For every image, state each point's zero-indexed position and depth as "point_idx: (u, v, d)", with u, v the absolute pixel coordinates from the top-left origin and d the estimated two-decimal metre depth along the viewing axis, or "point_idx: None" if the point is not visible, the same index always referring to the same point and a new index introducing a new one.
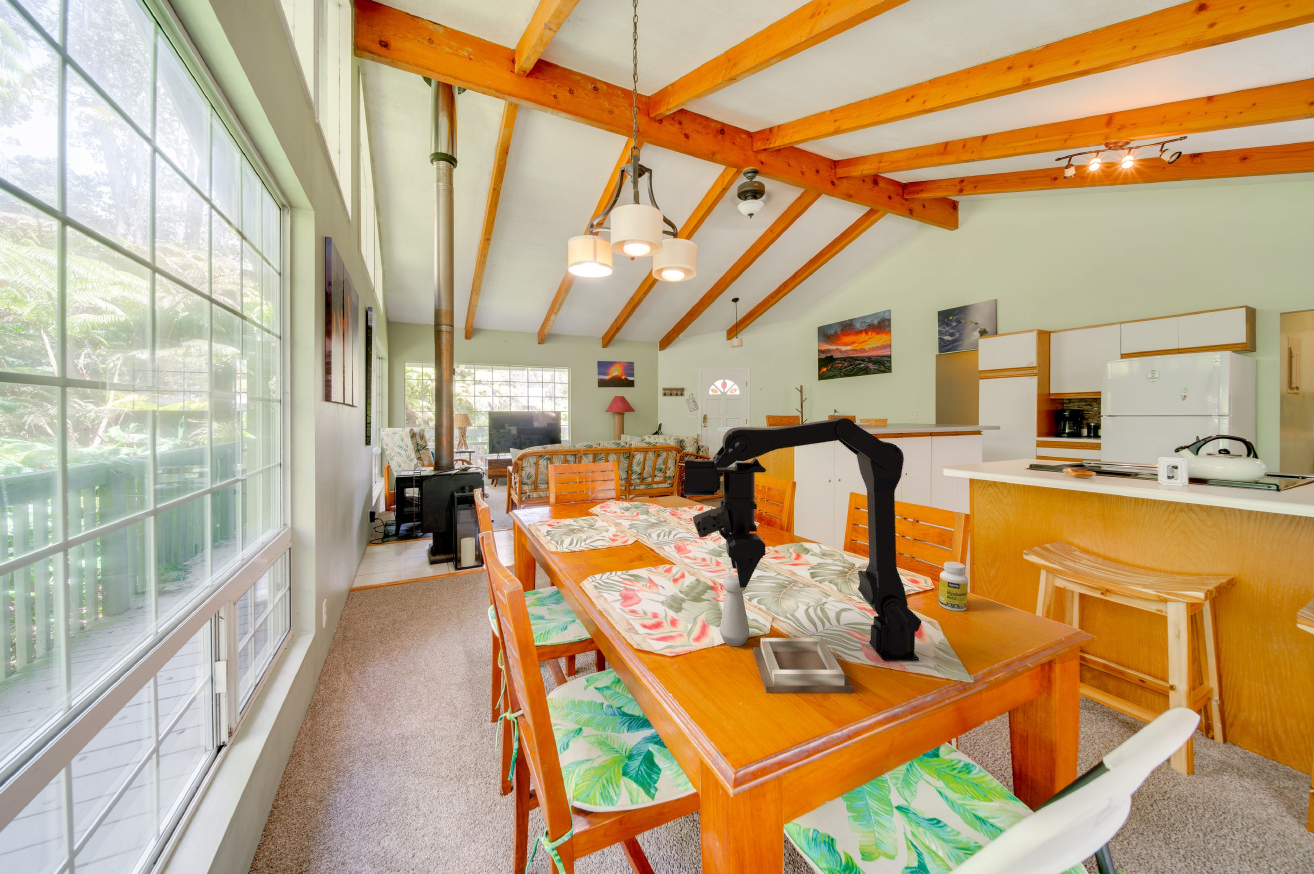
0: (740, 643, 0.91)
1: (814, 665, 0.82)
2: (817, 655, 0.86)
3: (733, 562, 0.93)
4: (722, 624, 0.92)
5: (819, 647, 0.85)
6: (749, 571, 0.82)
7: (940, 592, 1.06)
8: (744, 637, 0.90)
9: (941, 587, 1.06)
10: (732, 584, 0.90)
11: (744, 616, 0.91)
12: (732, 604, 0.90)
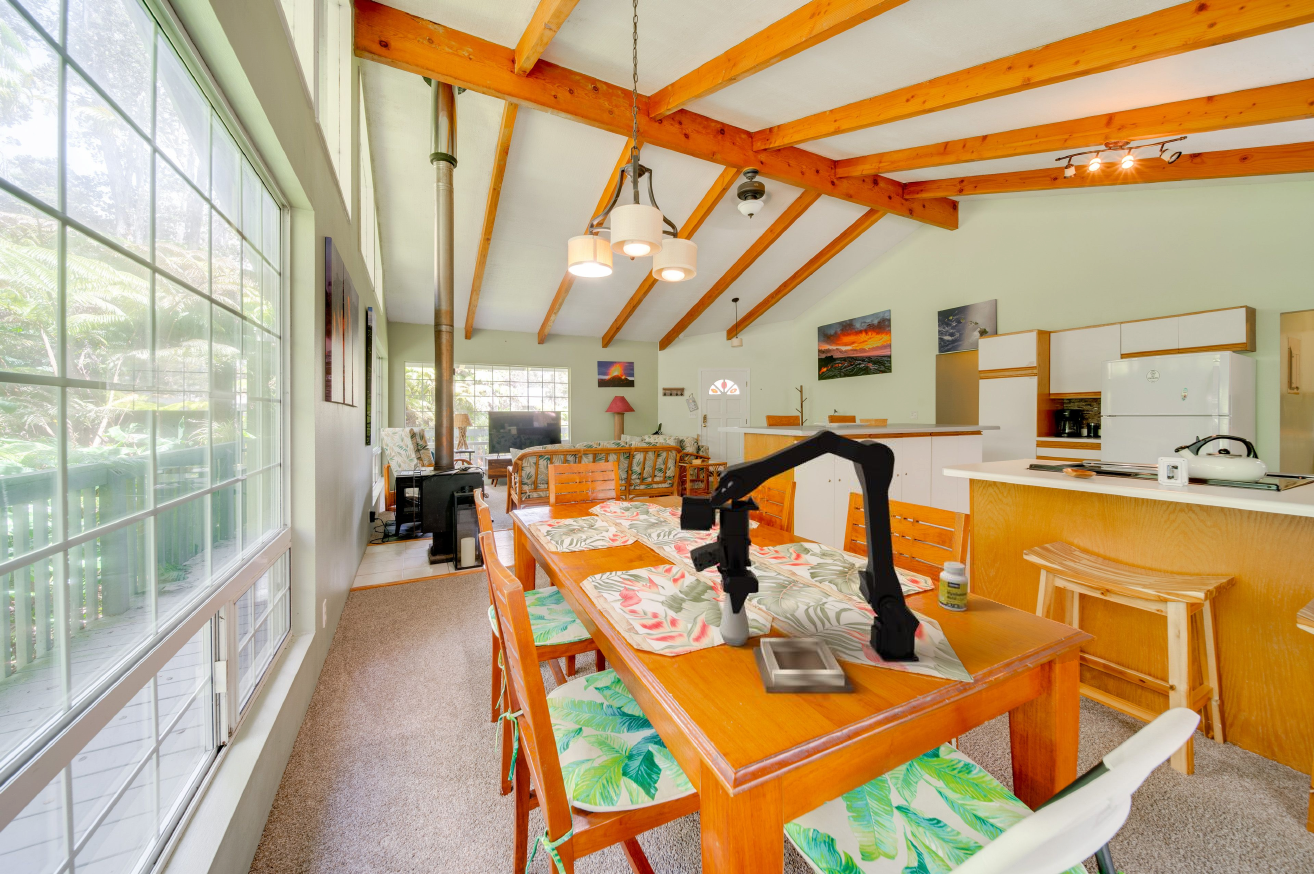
0: (740, 643, 0.91)
1: (814, 665, 0.82)
2: (817, 655, 0.86)
3: None
4: (722, 624, 0.92)
5: (819, 647, 0.85)
6: (741, 599, 0.89)
7: (940, 592, 1.06)
8: (744, 637, 0.90)
9: (941, 587, 1.06)
10: None
11: (744, 616, 0.91)
12: None
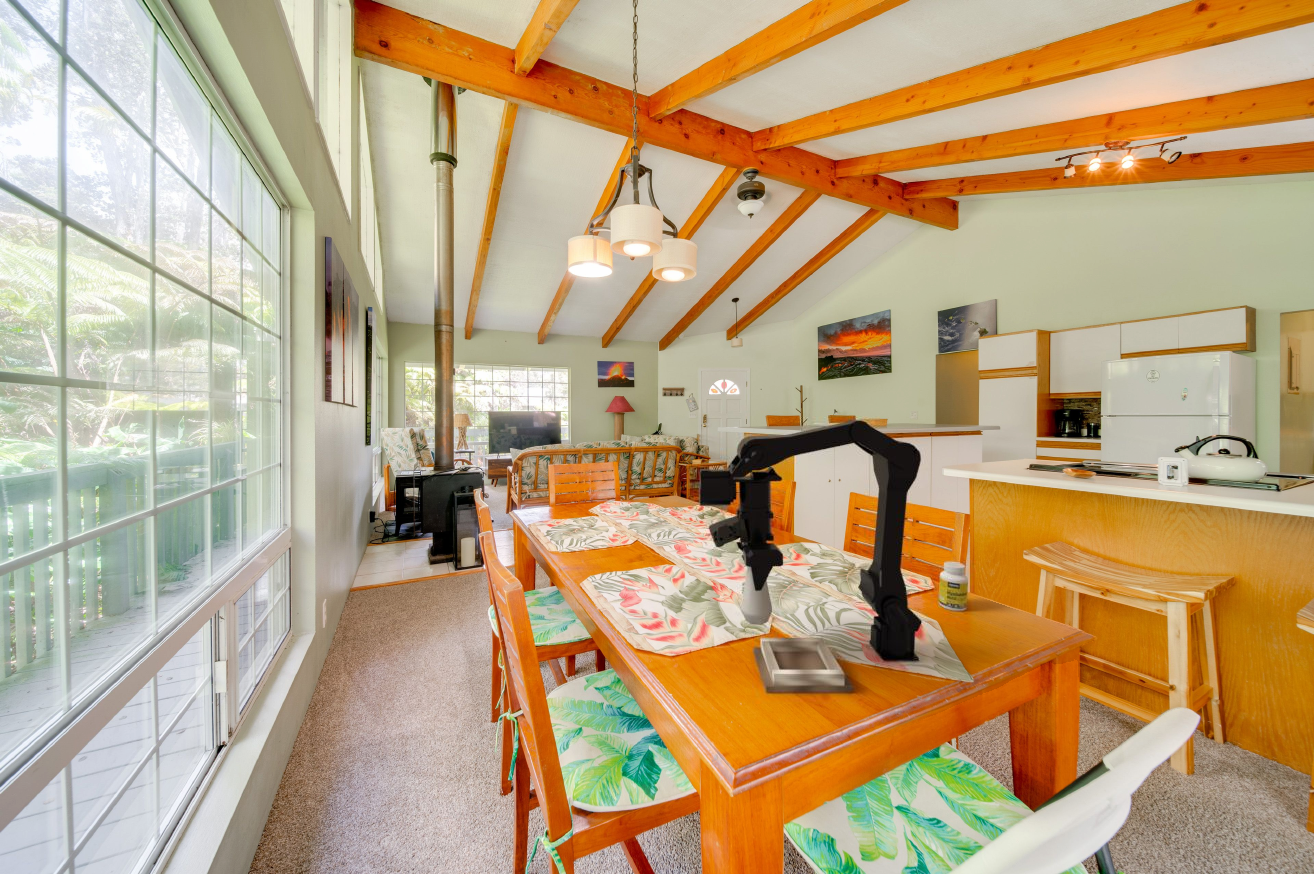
0: (763, 621, 0.87)
1: (814, 665, 0.82)
2: (817, 655, 0.86)
3: None
4: (743, 602, 0.88)
5: (819, 647, 0.85)
6: (764, 575, 0.85)
7: (940, 592, 1.06)
8: (767, 615, 0.86)
9: (941, 587, 1.06)
10: None
11: (767, 593, 0.87)
12: None
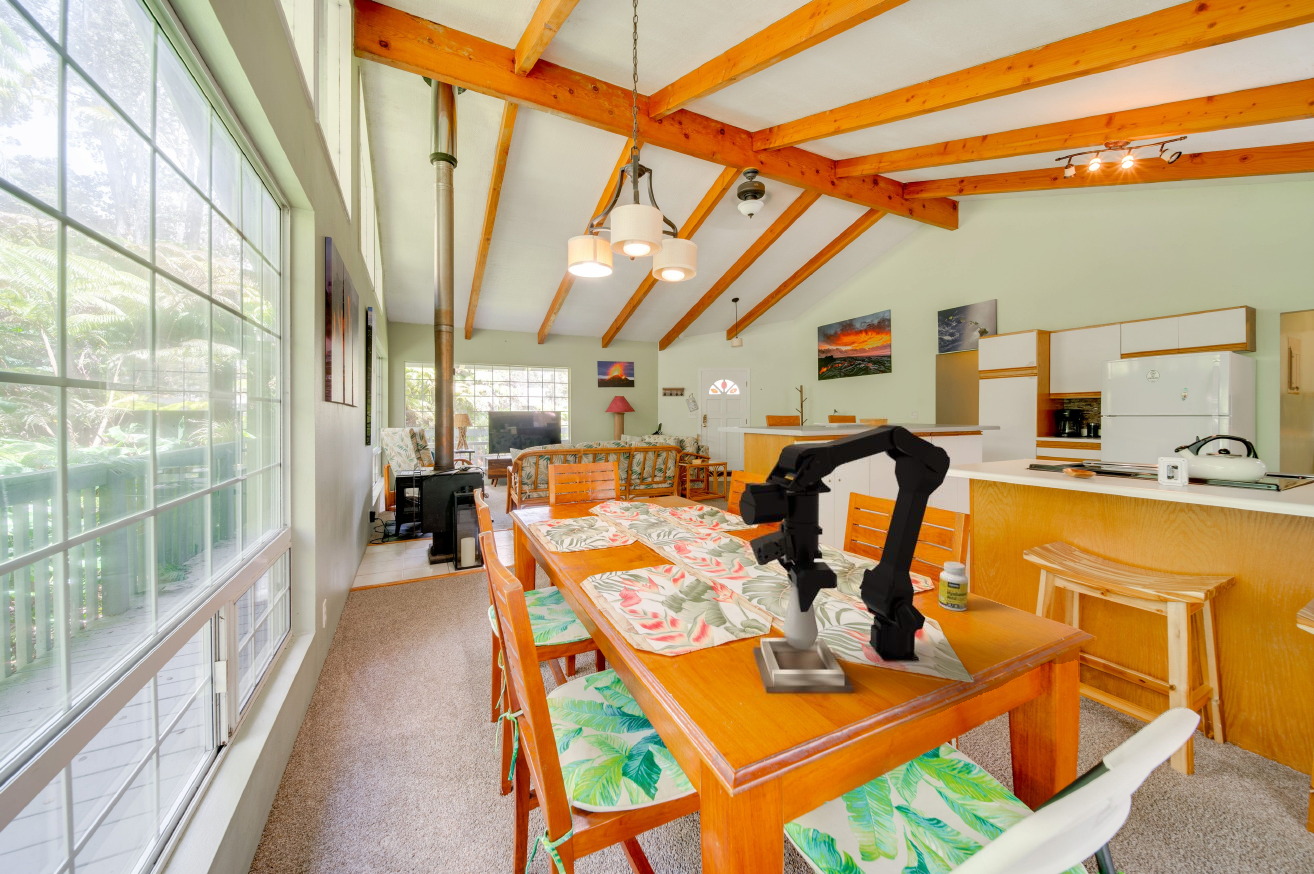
0: (808, 645, 0.80)
1: (814, 665, 0.82)
2: (817, 655, 0.86)
3: None
4: (787, 624, 0.81)
5: (819, 647, 0.85)
6: (811, 596, 0.78)
7: (940, 592, 1.06)
8: (813, 638, 0.80)
9: (941, 587, 1.06)
10: None
11: (813, 615, 0.80)
12: None
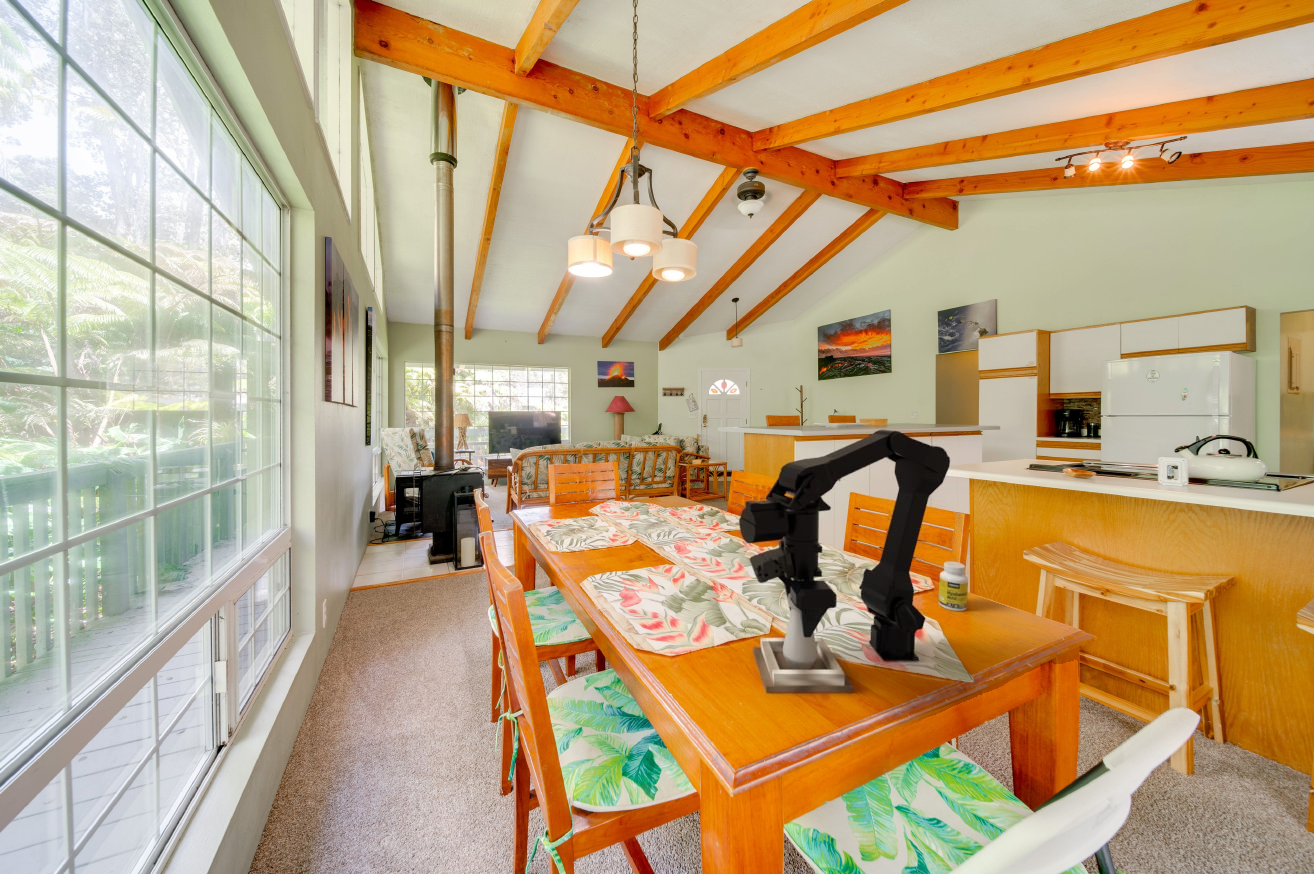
0: (808, 668, 0.80)
1: (814, 665, 0.82)
2: (817, 655, 0.86)
3: None
4: (786, 646, 0.81)
5: (819, 647, 0.85)
6: (815, 620, 0.76)
7: (940, 592, 1.06)
8: (812, 661, 0.80)
9: (941, 587, 1.06)
10: None
11: (812, 637, 0.81)
12: (799, 623, 0.80)
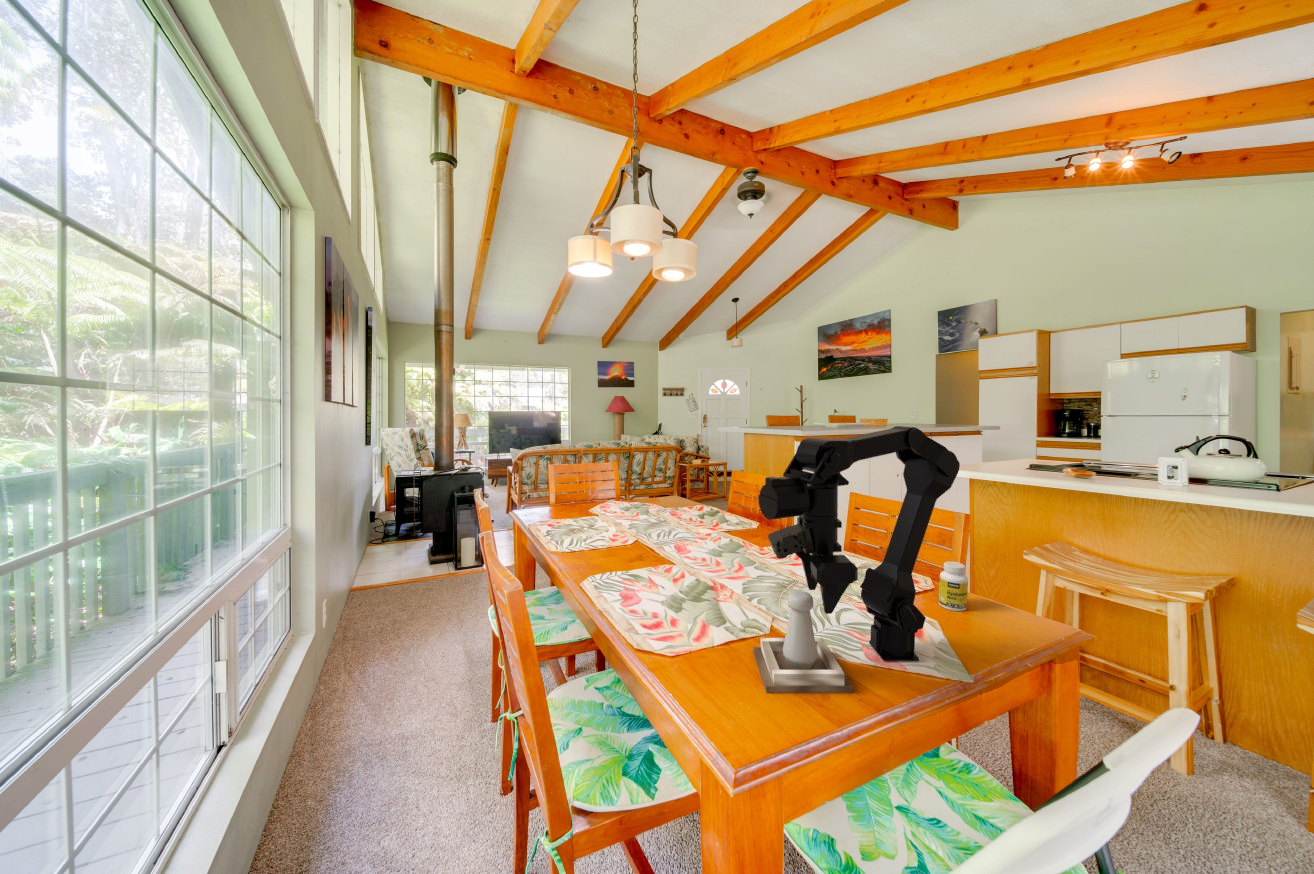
0: (808, 668, 0.80)
1: (814, 665, 0.82)
2: (817, 655, 0.86)
3: (809, 583, 0.86)
4: (786, 646, 0.81)
5: (819, 647, 0.85)
6: (836, 596, 0.75)
7: (940, 592, 1.06)
8: (812, 661, 0.80)
9: (941, 587, 1.06)
10: (799, 602, 0.80)
11: (812, 638, 0.81)
12: (799, 624, 0.80)
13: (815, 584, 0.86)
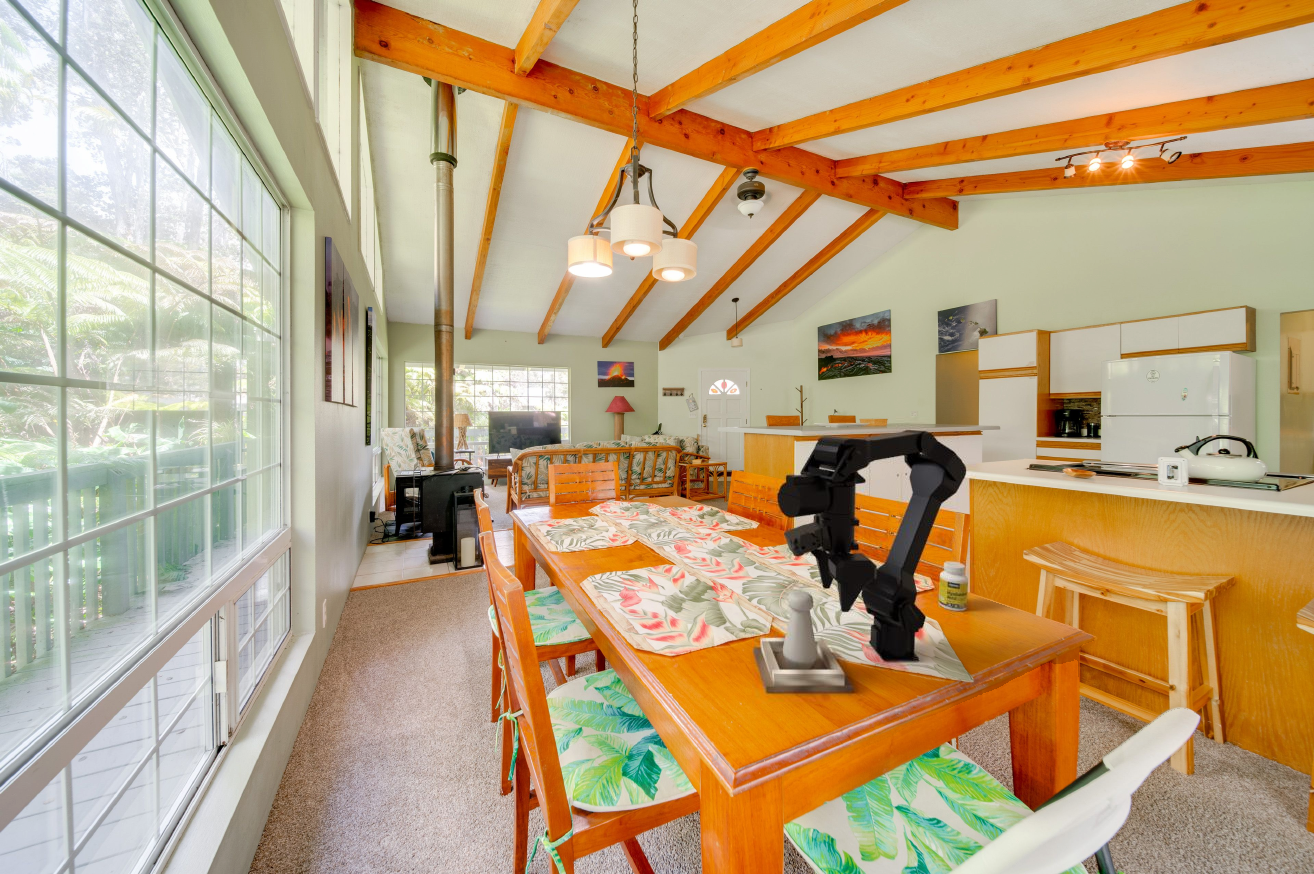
0: (808, 668, 0.80)
1: (814, 665, 0.82)
2: (817, 655, 0.86)
3: (824, 582, 0.86)
4: (786, 646, 0.81)
5: (819, 647, 0.85)
6: (854, 594, 0.75)
7: (940, 592, 1.06)
8: (812, 661, 0.80)
9: (941, 587, 1.06)
10: (799, 602, 0.80)
11: (812, 638, 0.81)
12: (799, 624, 0.80)
13: (830, 583, 0.86)
